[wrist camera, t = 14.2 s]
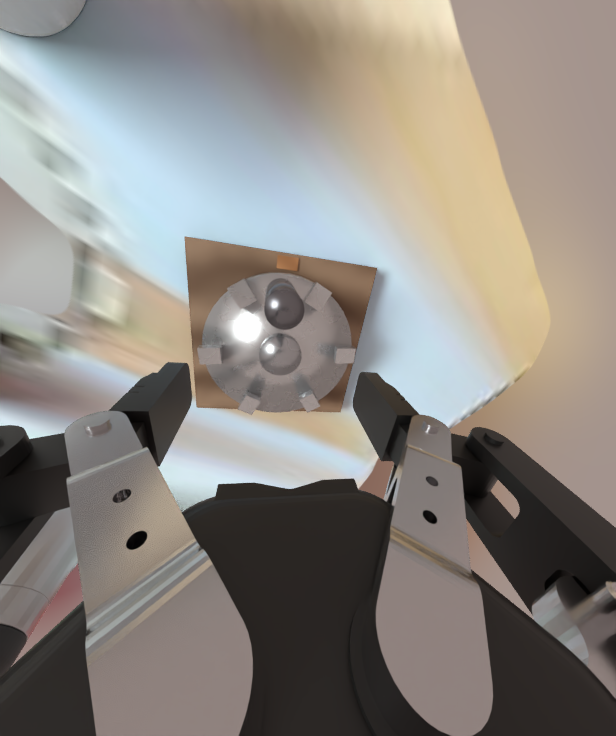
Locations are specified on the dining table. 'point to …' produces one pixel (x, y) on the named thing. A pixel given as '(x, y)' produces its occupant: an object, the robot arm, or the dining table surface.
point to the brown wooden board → (234, 262)
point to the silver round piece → (276, 343)
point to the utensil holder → (38, 16)
